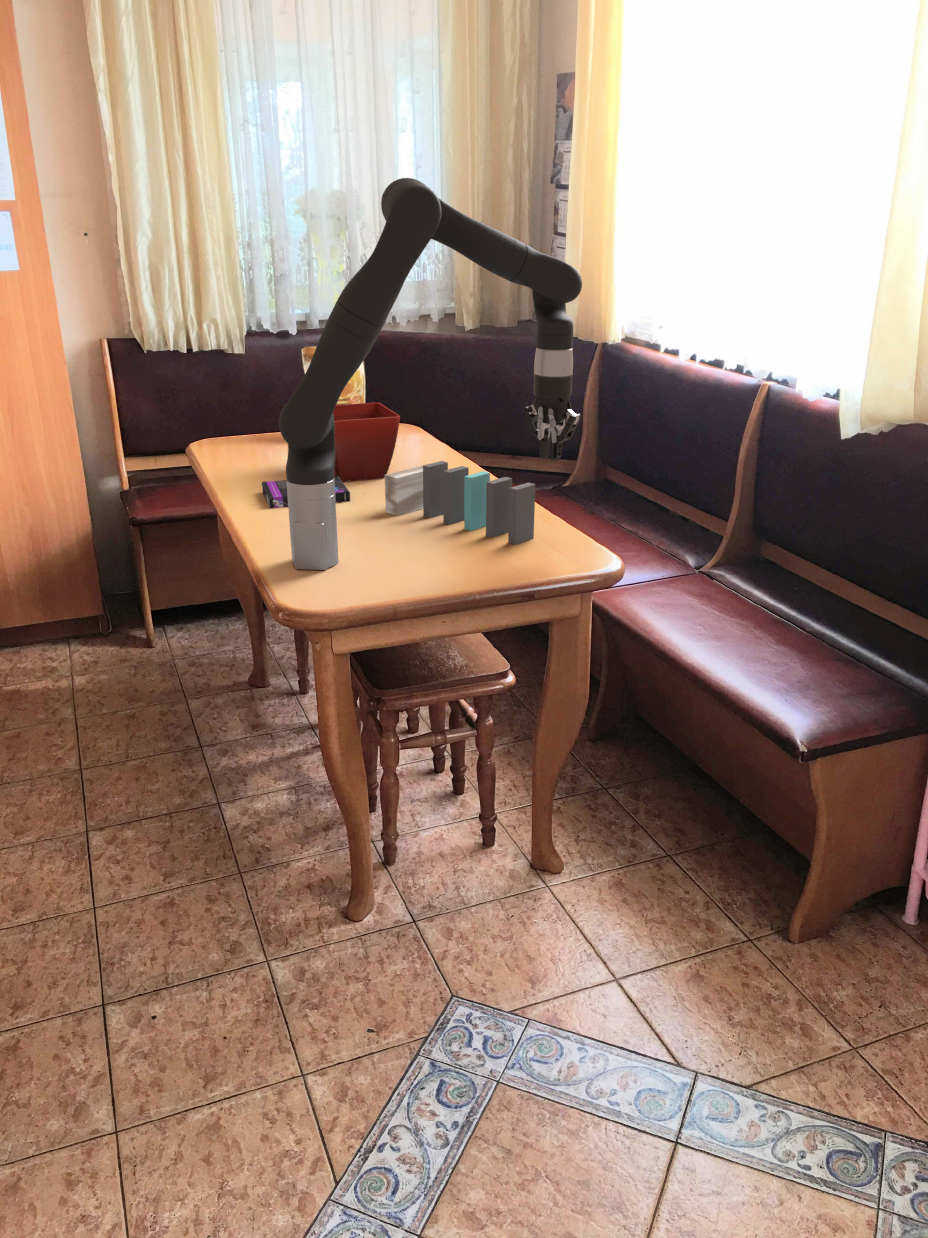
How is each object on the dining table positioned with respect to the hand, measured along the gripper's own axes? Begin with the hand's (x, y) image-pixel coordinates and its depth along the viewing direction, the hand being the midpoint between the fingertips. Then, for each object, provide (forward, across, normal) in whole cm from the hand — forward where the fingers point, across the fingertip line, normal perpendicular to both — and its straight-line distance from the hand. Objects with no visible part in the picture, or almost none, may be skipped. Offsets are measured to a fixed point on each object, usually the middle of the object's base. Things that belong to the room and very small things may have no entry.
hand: (549, 458), depth 195 cm
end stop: (+19, +40, 0) cm, 45 cm away
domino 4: (+19, +14, 0) cm, 23 cm away
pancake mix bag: (+19, +106, -31) cm, 112 cm away
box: (+20, +66, +12) cm, 70 cm away
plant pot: (+19, +73, -10) cm, 76 cm away
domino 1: (+19, +33, 0) cm, 38 cm away
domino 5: (+19, +7, 0) cm, 20 cm away
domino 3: (+19, +20, 0) cm, 28 cm away
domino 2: (+19, +26, 0) cm, 33 cm away
